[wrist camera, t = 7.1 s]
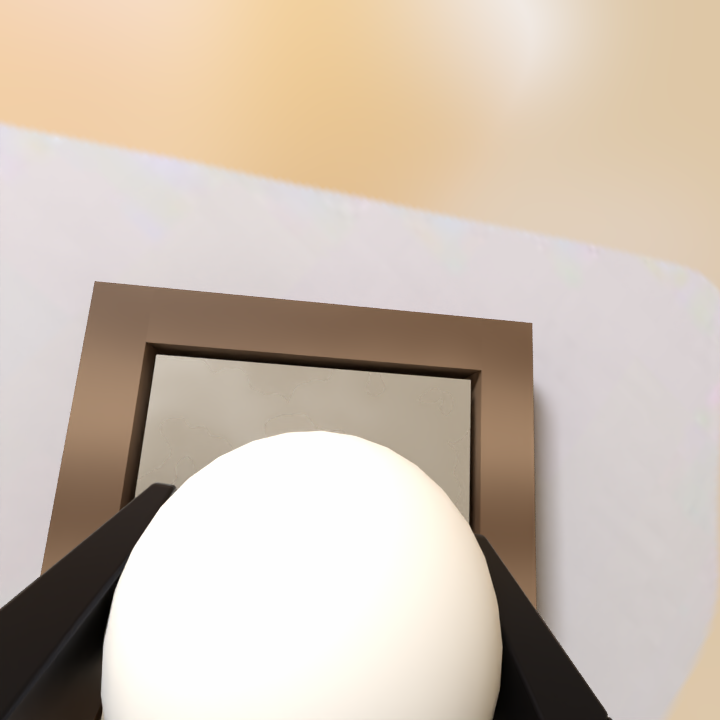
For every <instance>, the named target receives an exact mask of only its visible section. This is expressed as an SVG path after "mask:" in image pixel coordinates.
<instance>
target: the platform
mask: <svg viewBox="0 0 720 720" xmlns="http://www.w3.org/2000/svg"><path fill="white" fill-rule="evenodd" d="M470 405H471V380H465V379H453V378H440V377H428V376H416V375H403V374H391V373H378V372H366V371H354V370H341V369H329V368H317V367H304V366H292V365H280V364H267V363H255V362H242V361H230V360H218V359H205V358H193V357H181V356H168V355H156V361H155V367H154V374H153V380H152V387H151V393H150V400H149V407H148V413H147V420H146V426H145V433H144V440H143V446H142V453H141V459H140V466H139V473H138V479H137V486H136V492H135V498H136V497H137V496H138V495H139V494H141V493H142V492H143V491H144V490H145V489H147V488H148V487H149V486H150V485H152V484H153V483H156V482H160V483H166V484H172V485H175V486H176V488H177V490H178V489H179V488H180V487H181V486H182V485H183V484H184V483H185V482H186V481H187V480H188V479H189V478H190V477H191V476H193V475H194V474H196V473H197V472H198V471H200V470H201V469H203V468H204V467H206V466H207V465H208V464H210V463H211V462H213V461H214V460H215V459H217V458H218V457H220V456H222V455H224V454H226V453H228V452H230V451H233V450H235V449H237V448H239V447H241V446H243V445H246V444H248V443H250V442H252V441H255V440H259V439H263V438H268V437H272V436H276V435H280V434H284V433H289V432H310V431H326V432H333V433H339V434H346V435H352V436H357V437H360V438H363V439H365V440H368V441H371V442H374V443H376V444H379V445H382V446H384V447H387V448H389V449H391V450H392V451H394V452H396V453H397V454H399V455H400V456H402V457H404V458H405V459H407V460H409V461H410V462H412V463H414V464H415V465H417V466H418V467H419V468H420V469H421V470H422V471H423V472H424V473H425V474H426V475H428V476H429V477H430V478H431V479H432V480H433V481H434V482H435V483H436V484H437V485H438V486H440V487H441V488H442V489H443V491H444V492H445V493H446V494H447V496H448V497H449V498H450V500H451V501H452V502H453V504H454V505H455V506H456V508H457V509H458V510H459V512H460V513H461V514H462V516H463V517H464V518H465V520H466V521H467V522H468V524H469V486H470ZM101 720H104V714H103V710H102V717H101Z"/></svg>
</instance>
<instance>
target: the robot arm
mask: <svg viewBox="0 0 720 720" xmlns="http://www.w3.org/2000/svg"><path fill="white" fill-rule="evenodd" d="M176 491H177V488H176V486H175V485H172V484H166V483H160V482H156V483H153V484H152V485H150V486H149V487H148V488H147V489H145V490H144V491H143V492H142V493H141V494H139V495H138V496H137V497H136V498H134V499H133V500H132V501H131V502H130V503H128V504H127V505H126V506H125V507H124V508H122V509H121V510H120V511H119V512H117V513H116V514H115V515H114V516H113V517H111V518H110V519H109V520H108V521H107V522H105V523H104V524H103V525H102V526H100V527H99V528H98V529H97V530H96V531H94V532H93V533H92V534H91V535H90V536H88V537H87V538H86V539H85V540H83V541H82V542H81V543H80V544H79V545H77V546H76V547H75V548H74V549H73V550H71V551H70V552H69V553H68V554H66V555H65V556H64V557H63V558H62V559H60V560H59V561H58V562H57V563H56V564H54V565H53V566H52V567H51V568H49V569H48V570H47V571H46V572H45V573H43V574H42V575H41V576H40V577H39V578H37V579H36V580H35V581H34V582H32V583H31V584H30V585H29V586H28V587H26V588H25V589H24V590H23V591H22V592H20V593H19V594H18V595H17V596H15V597H14V598H13V599H12V600H11V601H9V602H8V603H7V604H6V605H5V606H3V607H2V608H1V609H0V720H94V718H95V716H96V714H97V712H98V709H99V707H100V705H101V703H102V699H101V681H102V662H103V643H104V632H105V628H106V624H107V619H108V615H109V611H110V607H111V603H112V599H113V595H114V591H115V588H116V586H117V584H118V581H119V579H120V577H121V575H122V572H123V570H124V568H125V566H126V563H127V561H128V559H129V556H130V554H131V552H132V550H133V548H134V547H135V545H136V543H137V542H138V540H139V539H140V537H141V536H142V534H143V533H144V531H145V530H146V528H147V527H148V525H149V524H150V522H151V521H152V519H153V518H154V516H155V515H156V513H157V512H158V510H159V509H160V507H161V506H162V505H163V504H164V503H165V502H166V501H167V500H168V499H169V498H170V497H171V496H172V495H173V494H174V493H175V492H176ZM473 534H474V536H475V538H476V540H477V542H478V544H479V546H480V548H481V550H482V552H483V554H484V556H485V559H486V562H487V566H488V569H489V573H490V576H491V580H492V584H493V587H494V591H495V594H496V599H497V603H498V609H499V619H500V628H501V638H502V647H503V648H502V663H501V679H500V691H499V695H498V699H497V703H496V707H495V712H494V716H493V720H612V719H611V718H610V717H608V714H607V712H606V710H605V709H604V707H603V706H602V704H601V703H600V701H599V700H598V699H597V697H596V696H595V694H594V693H593V691H592V690H591V688H590V687H589V686H588V684H587V683H586V681H585V680H584V678H583V677H582V675H581V674H580V673H579V671H578V670H577V668H576V667H575V665H574V664H573V662H572V661H571V660H570V658H569V657H568V655H567V654H566V652H565V651H564V649H563V648H562V647H561V645H560V644H559V642H558V641H557V639H556V638H555V636H554V635H553V634H552V632H551V631H550V629H549V628H548V626H547V625H546V623H545V622H544V620H543V619H542V618H541V616H540V615H539V613H538V612H537V610H536V609H535V607H534V606H533V605H532V603H531V602H530V600H529V599H528V597H527V596H526V594H525V593H524V592H523V590H522V589H521V587H520V586H519V584H518V583H517V581H516V580H515V579H514V577H513V576H512V574H511V573H510V571H509V570H508V568H507V567H506V566H505V564H504V563H503V561H502V560H501V558H500V557H499V555H498V554H497V553H496V551H495V550H494V548H493V547H492V545H491V544H490V542H489V541H488V540H487V538H486V537H485V536H483V535H481V534H476V533H473Z"/></svg>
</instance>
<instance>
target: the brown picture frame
mask: <svg viewBox="0 0 720 720" xmlns="http://www.w3.org/2000/svg"><path fill="white" fill-rule="evenodd" d="M156 355H168V356H181V357H193V358H205V359H218V360H230V361H242V362H255V363H267V364H280V365H292V366H304V367H317V368H329V369H341V370H354V371H366V372H378V373H391V374H403V375H416V376H428V377H440V378H453V379H465V380H471V405H470V486H469V526H470V528H471V530H472V532H473V533H476V534H481V535H483V536H485V537H486V538H487V540H488V541H489V542H490V544H491V545H492V547H493V548H494V550H495V551H496V553H497V554H498V555H499V557H500V558H501V560H502V561H503V563H504V564H505V566H506V567H507V568H508V570H509V571H510V573H511V574H512V576H513V577H514V579H515V580H516V581H517V583H518V584H519V586H520V587H521V589H522V590H523V592H524V593H525V594H526V596H527V597H528V599H529V600H530V602H531V603H532V605H533V606H534V607H535V609H536V546H535V478H534V411H533V343H532V323H525V322H515V321H505V320H494V319H484V318H473V317H463V316H452V315H442V314H431V313H421V312H410V311H400V310H389V309H379V308H369V307H358V306H348V305H337V304H327V303H316V302H306V301H295V300H285V299H274V298H264V297H253V296H243V295H232V294H222V293H212V292H201V291H191V290H180V289H170V288H159V287H149V286H138V285H128V284H117V283H107V282H96V281H95V283H94V289H93V294H92V299H91V305H90V310H89V316H88V321H87V326H86V332H85V337H84V343H83V348H82V353H81V359H80V364H79V370H78V375H77V381H76V386H75V391H74V397H73V402H72V408H71V413H70V418H69V424H68V429H67V435H66V440H65V445H64V451H63V456H62V462H61V467H60V472H59V478H58V483H57V489H56V494H55V499H54V505H53V510H52V516H51V521H50V527H49V532H48V537H47V543H46V548H45V554H44V559H43V564H42V570H41V575H42V574H43V573H45V572H46V571H47V570H48V569H49V568H51V567H52V566H53V565H54V564H56V563H57V562H58V561H59V560H60V559H62V558H63V557H64V556H65V555H66V554H68V553H69V552H70V551H71V550H73V549H74V548H75V547H76V546H77V545H79V544H80V543H81V542H82V541H83V540H85V539H86V538H87V537H88V536H90V535H91V534H92V533H93V532H94V531H96V530H97V529H98V528H99V527H100V526H102V525H103V524H104V523H105V522H107V521H108V520H109V519H110V518H111V517H113V516H114V515H115V514H116V513H117V512H119V511H120V510H121V509H122V508H124V507H125V506H126V505H127V504H128V503H130V502H131V501H132V500H133V499H134V498H135V492H136V486H137V479H138V473H139V466H140V459H141V453H142V446H143V440H144V433H145V426H146V420H147V413H148V407H149V400H150V393H151V387H152V380H153V374H154V367H155V361H156ZM41 575H40V576H41ZM102 710H103V707H102V703H101V705H100V707H99V709H98V712H97V714H96V716H95V718H94V720H101V717H102Z"/></svg>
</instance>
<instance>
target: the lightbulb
mask: <svg viewBox="0 0 720 720" xmlns="http://www.w3.org/2000/svg"><path fill="white" fill-rule="evenodd" d="M502 648H503V647H502V638H501V628H500V619H499V609H498V603H497V599H496V594H495V591H494V587H493V584H492V580H491V576H490V573H489V569H488V566H487V562H486V559H485V556H484V554H483V552H482V550H481V548H480V546H479V544H478V542H477V540H476V538H475V536H474V534H473V532H472V530H471V528H470V526H469V524H468V522H467V521H466V520H465V518H464V517H463V516H462V514H461V513H460V512H459V510H458V509H457V508H456V506H455V505H454V504H453V502H452V501H451V500H450V498H449V497H448V496H447V494H446V493H445V492H444V491H443V489H442V488H441V487H440V486H438V485H437V484H436V483H435V482H434V481H433V480H432V479H431V478H430V477H429V476H428V475H426V474H425V473H424V472H423V471H422V470H421V469H420V468H419V467H418V466H417V465H415V464H414V463H412V462H410V461H409V460H407V459H405V458H404V457H402V456H400V455H399V454H397V453H396V452H394V451H392V450H391V449H389V448H387V447H384V446H382V445H379V444H376V443H374V442H371V441H368V440H365V439H363V438H360V437H357V436H352V435H346V434H339V433H333V432H326V431H310V432H289V433H284V434H280V435H276V436H272V437H268V438H263V439H259V440H255V441H252V442H250V443H248V444H246V445H243V446H241V447H239V448H237V449H235V450H233V451H230V452H228V453H226V454H224V455H222V456H220V457H218V458H217V459H215V460H214V461H213V462H211V463H210V464H208V465H207V466H206V467H204V468H203V469H201V470H200V471H198V472H197V473H196V474H194V475H193V476H191V477H190V478H189V479H188V480H187V481H186V482H185V483H184V484H183V485H182V486H181V487H180V488H179V489H178V490H177V491H176V492H175V493H174V494H173V495H172V496H171V497H170V498H169V499H168V500H167V501H166V502H165V503H164V504H163V505H162V506H161V507H160V509H159V510H158V512H157V513H156V515H155V516H154V518H153V519H152V521H151V522H150V524H149V525H148V527H147V528H146V530H145V531H144V533H143V534H142V536H141V537H140V539H139V540H138V542H137V543H136V545H135V547H134V548H133V550H132V552H131V554H130V556H129V559H128V561H127V563H126V566H125V568H124V570H123V572H122V575H121V577H120V579H119V581H118V584H117V586H116V588H115V591H114V595H113V599H112V603H111V607H110V611H109V615H108V619H107V624H106V628H105V632H104V643H103V662H102V681H101V699H102V707H103V714H104V720H493V716H494V712H495V707H496V703H497V699H498V695H499V691H500V679H501V663H502Z"/></svg>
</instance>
